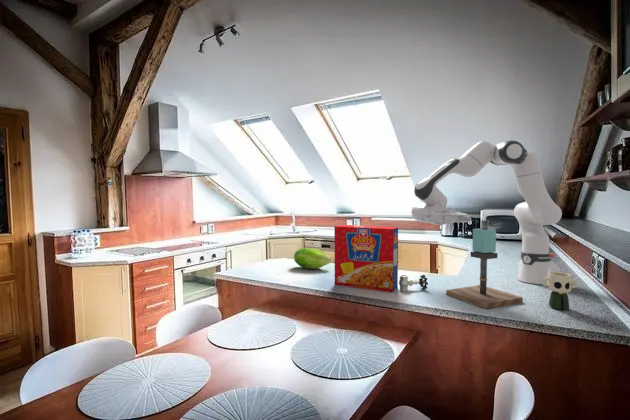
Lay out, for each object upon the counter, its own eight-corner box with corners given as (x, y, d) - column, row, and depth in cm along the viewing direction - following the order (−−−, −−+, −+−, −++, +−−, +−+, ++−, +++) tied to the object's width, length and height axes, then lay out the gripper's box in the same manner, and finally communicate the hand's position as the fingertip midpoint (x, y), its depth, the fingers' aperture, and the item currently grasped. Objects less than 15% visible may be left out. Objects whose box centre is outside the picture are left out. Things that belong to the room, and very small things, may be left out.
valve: (402, 292, 150) (428, 291, 152) (402, 277, 150) (428, 276, 152) (396, 288, 157) (421, 287, 158) (396, 274, 156) (421, 273, 158)
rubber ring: (482, 255, 145) (482, 250, 145) (497, 258, 138) (497, 253, 138) (470, 256, 142) (470, 251, 142) (484, 259, 135) (484, 254, 135)
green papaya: (324, 273, 187) (324, 251, 187) (288, 269, 197) (288, 249, 197) (334, 268, 199) (334, 248, 198) (299, 264, 209) (299, 245, 208)
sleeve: (483, 249, 144) (483, 228, 143) (495, 251, 138) (496, 229, 138) (472, 250, 142) (472, 228, 141) (484, 252, 136) (485, 230, 136)
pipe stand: (480, 289, 154) (481, 218, 152) (522, 302, 136) (524, 221, 134) (446, 294, 146) (447, 219, 145) (485, 309, 128) (487, 223, 126)
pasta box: (334, 284, 163) (334, 226, 161) (341, 281, 170) (341, 224, 168) (392, 292, 150) (393, 229, 148) (397, 288, 157) (398, 227, 155)
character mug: (545, 309, 127) (546, 275, 126) (538, 303, 134) (539, 270, 133) (580, 312, 124) (581, 277, 123) (571, 306, 131) (572, 272, 130)
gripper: (422, 208, 158) (445, 211, 146) (454, 209, 167) (479, 212, 155) (421, 222, 159) (444, 226, 146) (453, 222, 168) (477, 226, 155)
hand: (462, 219), depth 151 cm, fingers open, 8 cm apart
